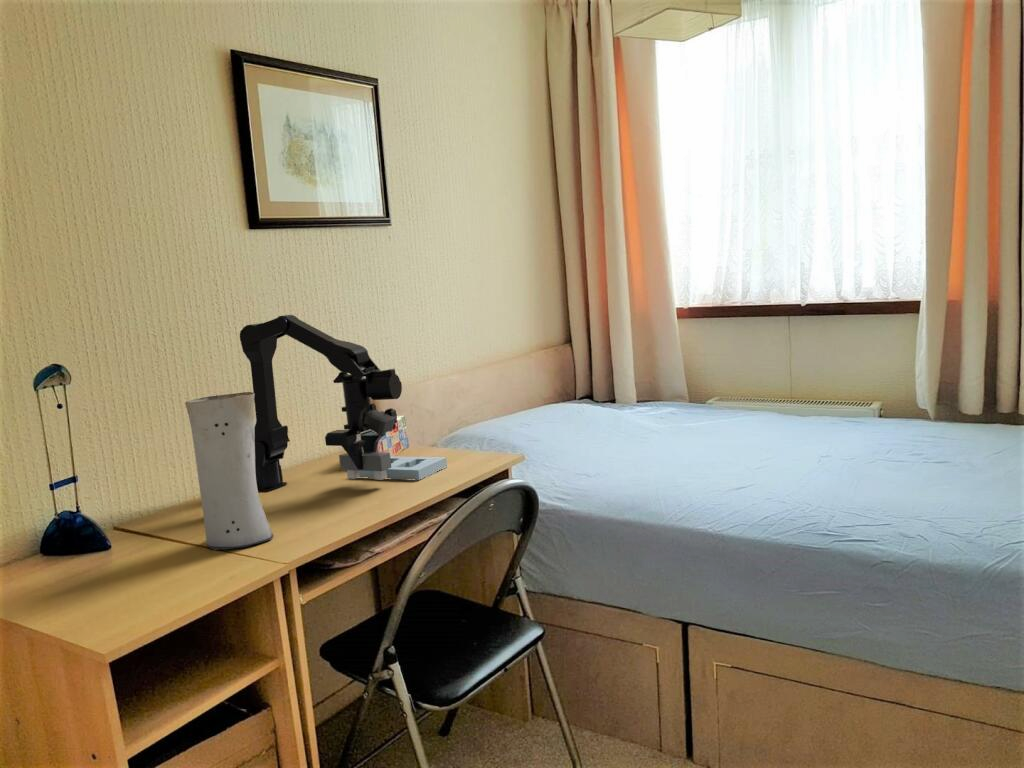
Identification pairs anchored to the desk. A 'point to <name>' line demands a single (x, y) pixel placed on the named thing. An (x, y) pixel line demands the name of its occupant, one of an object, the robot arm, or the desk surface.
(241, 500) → the vase
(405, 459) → the keyhole board
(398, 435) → the stack of blocks
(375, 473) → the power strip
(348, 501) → the desk surface
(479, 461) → the desk surface
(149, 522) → the desk surface
